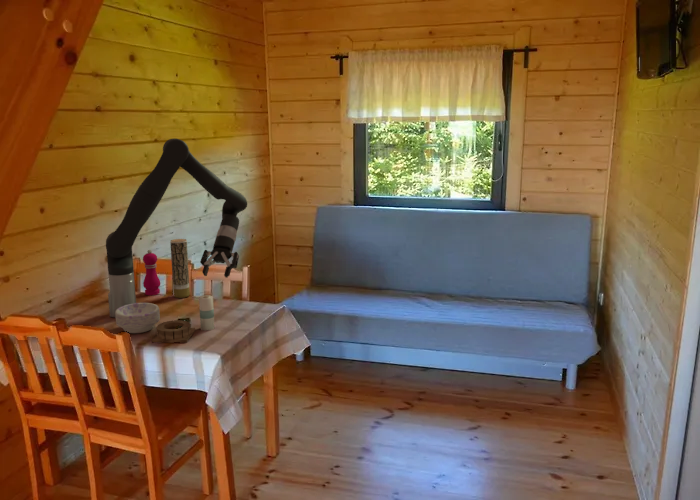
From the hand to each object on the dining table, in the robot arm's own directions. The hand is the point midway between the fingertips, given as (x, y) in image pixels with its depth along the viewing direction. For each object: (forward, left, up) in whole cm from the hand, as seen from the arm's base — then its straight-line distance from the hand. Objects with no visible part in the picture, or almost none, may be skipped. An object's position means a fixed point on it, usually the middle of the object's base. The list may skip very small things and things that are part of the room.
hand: (215, 276), depth 221 cm
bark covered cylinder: (-21, +30, -17) cm, 40 cm away
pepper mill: (-35, +34, -17) cm, 52 cm away
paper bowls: (-26, -11, -17) cm, 34 cm away
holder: (-11, -19, -17) cm, 28 cm away
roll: (-1, -10, -17) cm, 20 cm away
